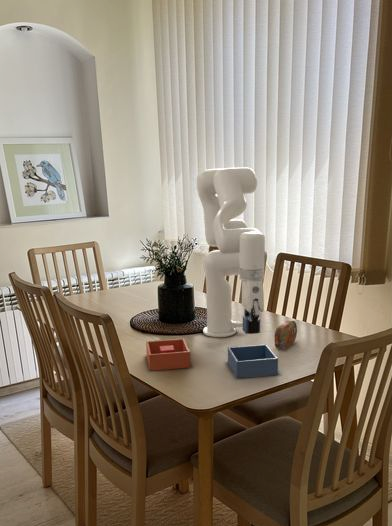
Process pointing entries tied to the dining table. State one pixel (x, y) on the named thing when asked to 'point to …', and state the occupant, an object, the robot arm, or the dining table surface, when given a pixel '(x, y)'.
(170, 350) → the red block
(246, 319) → the blue block
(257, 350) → the blue bin
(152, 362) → the terracotta bin
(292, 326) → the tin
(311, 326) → the dining table surface
